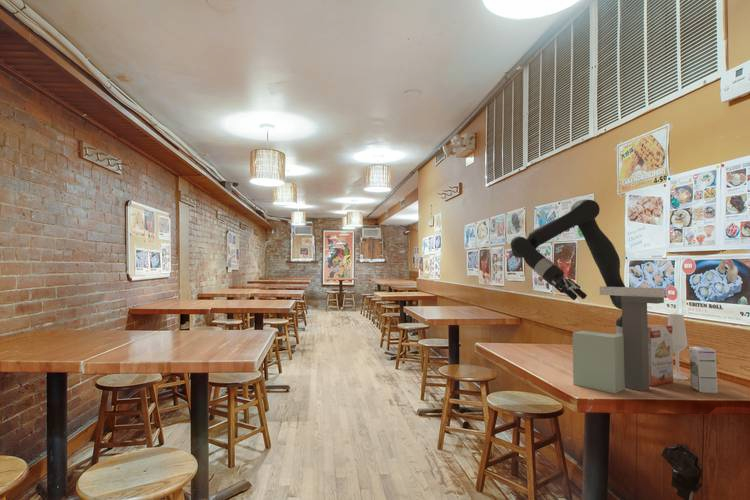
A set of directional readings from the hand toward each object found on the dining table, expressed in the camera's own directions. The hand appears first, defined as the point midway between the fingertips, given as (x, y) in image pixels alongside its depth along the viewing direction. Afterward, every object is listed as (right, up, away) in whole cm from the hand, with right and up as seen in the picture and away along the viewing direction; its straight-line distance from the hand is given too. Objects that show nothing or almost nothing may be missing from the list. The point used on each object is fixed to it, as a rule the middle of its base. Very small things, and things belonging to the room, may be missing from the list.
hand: (580, 297), depth 163 cm
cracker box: (+23, -30, -9) cm, 39 cm away
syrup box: (+33, -30, -19) cm, 48 cm away
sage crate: (-1, -30, -15) cm, 33 cm away
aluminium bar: (+11, +2, -13) cm, 18 cm away
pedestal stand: (+13, -30, -18) cm, 37 cm away
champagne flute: (+37, -31, -1) cm, 48 cm away
